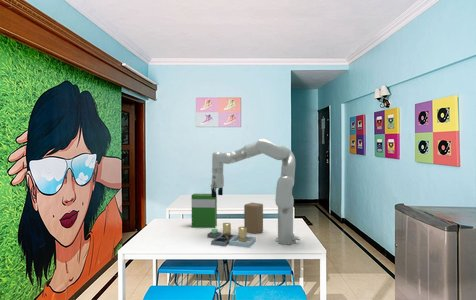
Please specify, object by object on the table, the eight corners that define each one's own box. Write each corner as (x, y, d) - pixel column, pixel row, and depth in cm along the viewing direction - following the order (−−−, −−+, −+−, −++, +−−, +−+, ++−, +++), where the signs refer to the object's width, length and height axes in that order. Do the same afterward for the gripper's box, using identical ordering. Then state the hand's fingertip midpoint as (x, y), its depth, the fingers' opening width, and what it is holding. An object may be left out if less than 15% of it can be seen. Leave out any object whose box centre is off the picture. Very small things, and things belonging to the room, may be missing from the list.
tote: (255, 242, 192) (255, 237, 192) (248, 249, 181) (248, 243, 181) (236, 240, 197) (236, 235, 197) (229, 246, 185) (229, 240, 185)
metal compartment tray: (223, 238, 203) (223, 233, 203) (236, 239, 199) (236, 235, 199) (211, 246, 186) (211, 241, 186) (225, 248, 183) (225, 243, 183)
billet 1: (231, 238, 198) (231, 223, 198) (228, 241, 193) (228, 225, 193) (224, 237, 200) (224, 222, 200) (221, 240, 195) (221, 224, 195)
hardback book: (216, 225, 235) (216, 193, 235) (215, 227, 228) (215, 195, 228) (193, 225, 237) (193, 193, 237) (191, 227, 230) (191, 195, 229)
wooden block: (251, 230, 222) (251, 202, 222) (263, 232, 216) (263, 203, 216) (243, 233, 214) (243, 204, 214) (256, 235, 208) (256, 205, 208)
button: (218, 233, 204) (218, 229, 204) (216, 235, 200) (216, 230, 200) (213, 233, 205) (213, 228, 205) (210, 234, 202) (210, 230, 202)
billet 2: (247, 243, 190) (247, 227, 190) (245, 245, 186) (245, 229, 185) (240, 242, 192) (240, 226, 192) (237, 244, 187) (237, 228, 187)
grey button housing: (221, 237, 205) (221, 232, 205) (217, 240, 198) (217, 235, 198) (212, 236, 207) (212, 231, 207) (207, 239, 201) (207, 234, 201)
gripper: (216, 172, 198) (216, 198, 199) (228, 170, 214) (227, 194, 215) (206, 171, 201) (206, 197, 201) (218, 169, 217) (217, 193, 217)
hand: (217, 196), depth 208 cm, fingers open, 9 cm apart
